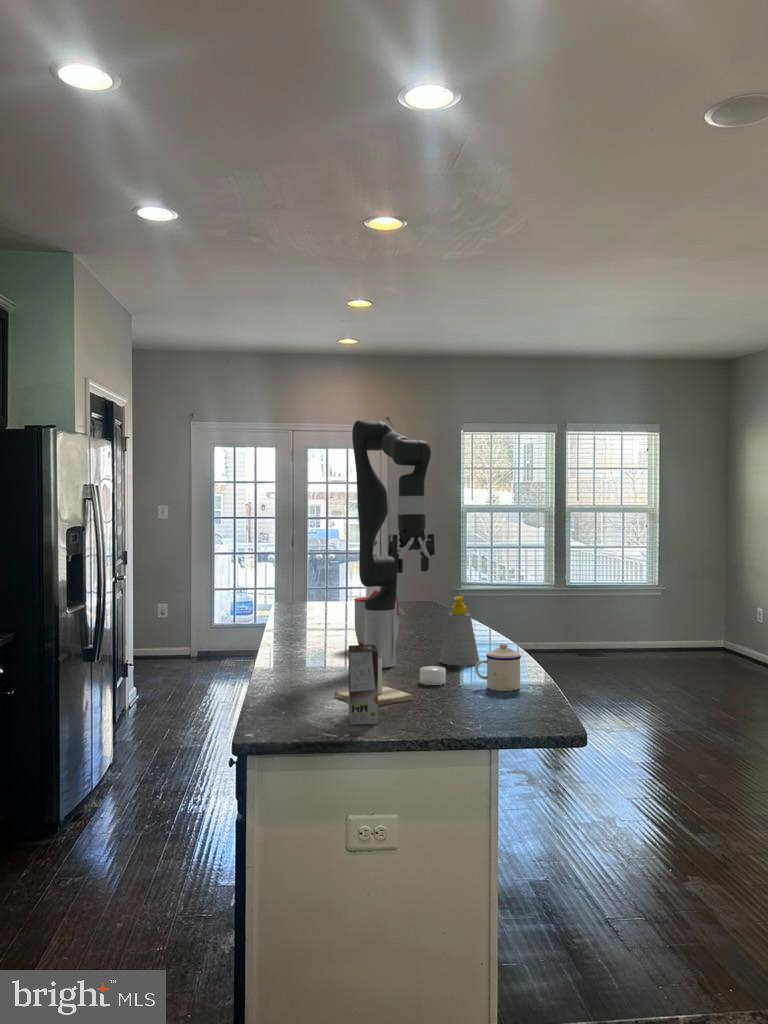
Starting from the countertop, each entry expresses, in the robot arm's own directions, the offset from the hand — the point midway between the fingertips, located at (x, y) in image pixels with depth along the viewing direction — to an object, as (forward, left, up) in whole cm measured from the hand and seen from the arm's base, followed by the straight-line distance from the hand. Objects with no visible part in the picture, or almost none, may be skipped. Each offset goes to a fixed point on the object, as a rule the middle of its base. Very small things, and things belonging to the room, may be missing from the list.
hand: (411, 572), depth 211 cm
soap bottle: (-14, +29, -30) cm, 44 cm away
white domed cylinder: (+4, +4, -30) cm, 31 cm away
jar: (+9, -19, -29) cm, 36 cm away
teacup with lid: (+19, +14, -30) cm, 38 cm away
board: (+9, -19, -30) cm, 37 cm away
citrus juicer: (-49, +23, -30) cm, 62 cm away
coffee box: (+24, -32, -30) cm, 50 cm away
